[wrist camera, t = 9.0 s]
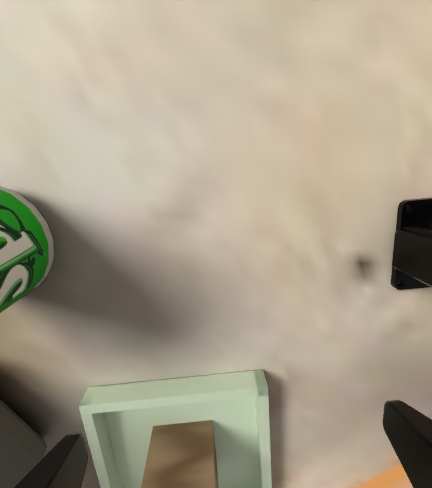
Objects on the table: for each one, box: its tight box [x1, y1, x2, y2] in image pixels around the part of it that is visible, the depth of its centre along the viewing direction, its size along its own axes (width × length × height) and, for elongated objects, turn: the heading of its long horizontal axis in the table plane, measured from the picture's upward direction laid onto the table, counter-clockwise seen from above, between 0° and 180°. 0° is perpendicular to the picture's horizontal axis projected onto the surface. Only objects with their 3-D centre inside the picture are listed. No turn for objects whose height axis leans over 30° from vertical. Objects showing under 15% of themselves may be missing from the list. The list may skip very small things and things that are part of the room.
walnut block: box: [141, 420, 218, 488], centre depth 21 cm, size 5×5×6 cm
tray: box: [78, 370, 272, 488], centre depth 23 cm, size 14×14×2 cm
